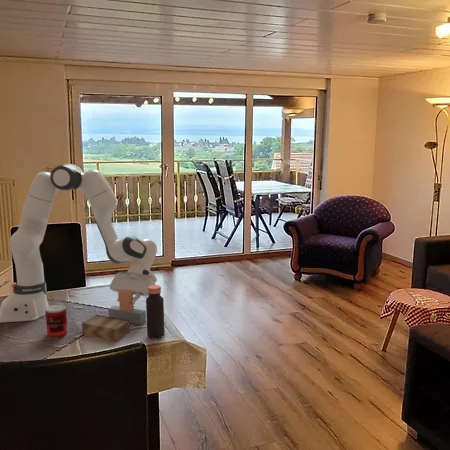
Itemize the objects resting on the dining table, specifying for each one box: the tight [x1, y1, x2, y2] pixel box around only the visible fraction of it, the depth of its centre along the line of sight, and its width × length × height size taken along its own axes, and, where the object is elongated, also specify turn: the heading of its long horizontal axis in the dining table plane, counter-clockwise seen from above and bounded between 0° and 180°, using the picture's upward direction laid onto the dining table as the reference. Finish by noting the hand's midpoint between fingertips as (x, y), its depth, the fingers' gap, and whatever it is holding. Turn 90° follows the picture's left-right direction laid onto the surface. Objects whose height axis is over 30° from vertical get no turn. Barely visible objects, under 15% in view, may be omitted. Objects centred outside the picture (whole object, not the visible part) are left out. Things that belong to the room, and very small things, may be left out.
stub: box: [107, 290, 147, 325], centre depth 202 cm, size 16×4×13 cm, turn 67°
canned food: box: [45, 304, 68, 339], centre depth 189 cm, size 8×8×11 cm
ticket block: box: [81, 314, 131, 342], centre depth 190 cm, size 16×9×5 cm, turn 67°
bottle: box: [145, 284, 166, 339], centre depth 187 cm, size 7×7×20 cm
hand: (125, 302), depth 201 cm, fingers closed on stub, 5 cm apart
